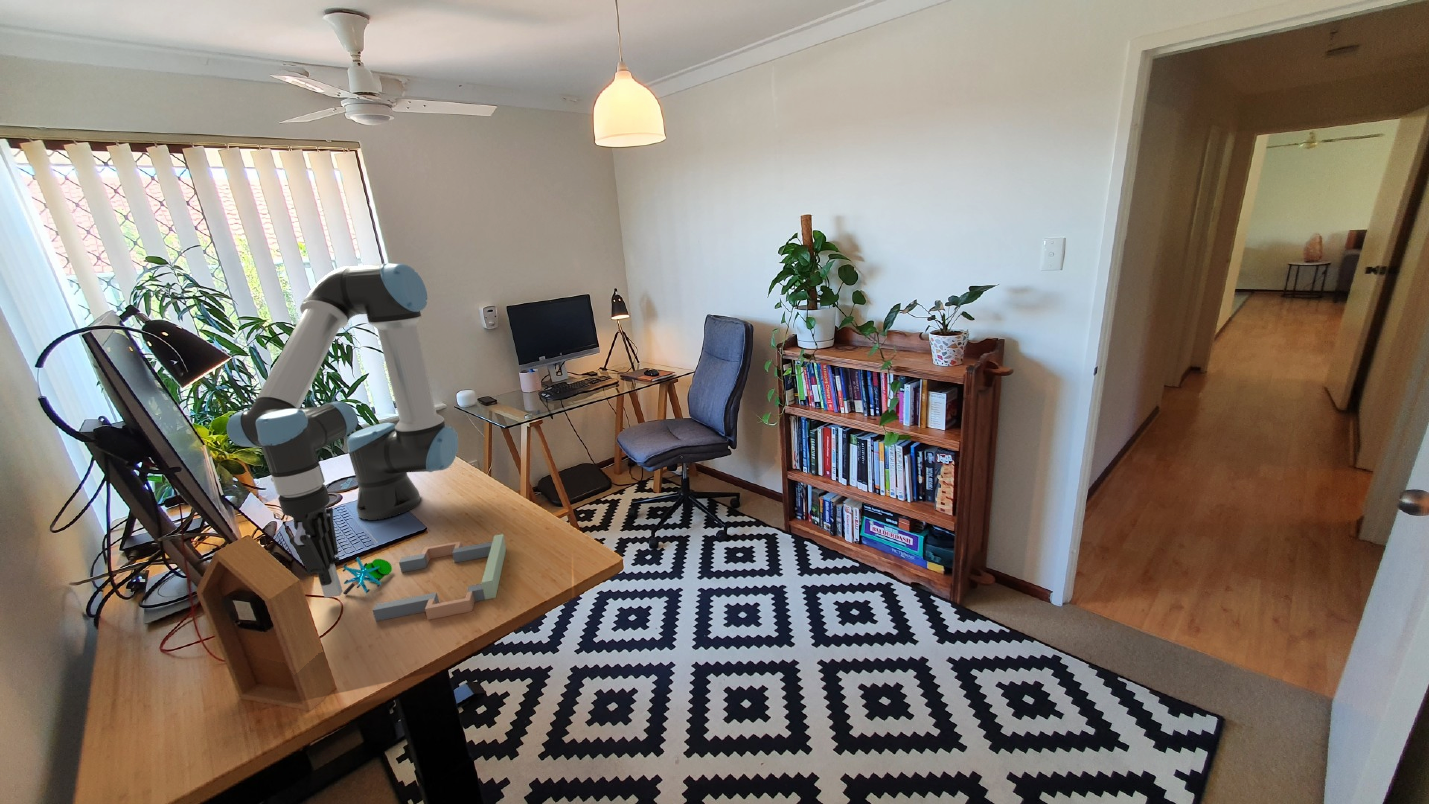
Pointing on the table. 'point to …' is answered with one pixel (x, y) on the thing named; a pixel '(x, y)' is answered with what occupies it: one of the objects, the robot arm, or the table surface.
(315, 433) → the robot arm
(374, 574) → the stick construction toy
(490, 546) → the wall
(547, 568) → the table surface
